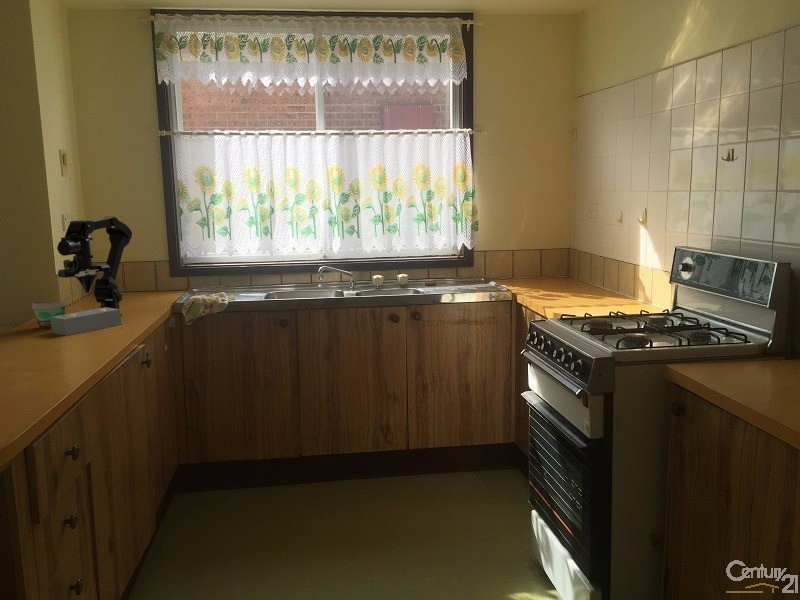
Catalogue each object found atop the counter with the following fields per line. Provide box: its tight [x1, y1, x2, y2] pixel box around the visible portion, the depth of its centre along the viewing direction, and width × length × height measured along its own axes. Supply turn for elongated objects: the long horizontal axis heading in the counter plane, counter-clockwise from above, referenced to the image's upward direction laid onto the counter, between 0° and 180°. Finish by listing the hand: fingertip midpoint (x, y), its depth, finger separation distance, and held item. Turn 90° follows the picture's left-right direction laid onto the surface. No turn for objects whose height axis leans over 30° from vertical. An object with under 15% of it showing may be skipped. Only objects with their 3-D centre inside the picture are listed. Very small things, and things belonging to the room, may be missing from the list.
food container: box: [31, 299, 68, 330], centre depth 272 cm, size 12×6×10 cm, turn 105°
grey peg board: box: [50, 307, 122, 337], centre depth 268 cm, size 22×10×6 cm, turn 143°
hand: (87, 292), depth 278 cm, fingers closed
